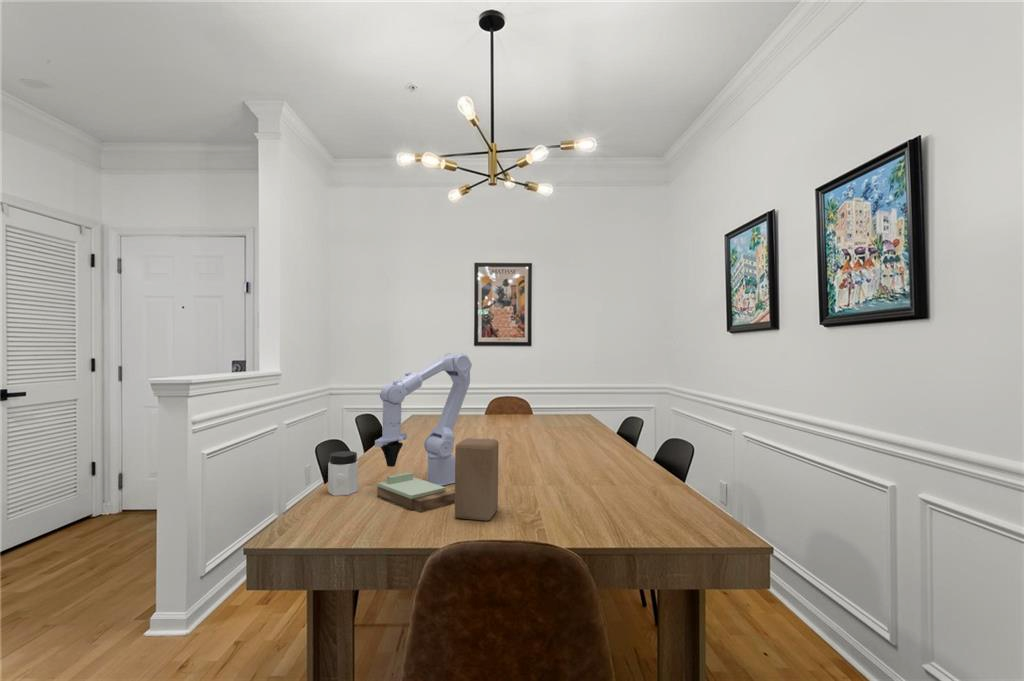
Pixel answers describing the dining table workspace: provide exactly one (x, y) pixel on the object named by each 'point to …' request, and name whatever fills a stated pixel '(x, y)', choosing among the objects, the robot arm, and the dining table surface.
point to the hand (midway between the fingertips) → (391, 466)
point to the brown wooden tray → (418, 500)
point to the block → (476, 479)
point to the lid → (410, 486)
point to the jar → (343, 473)
